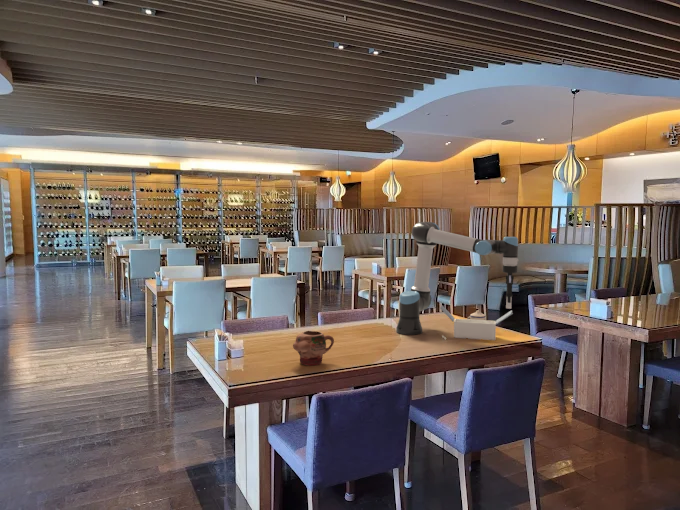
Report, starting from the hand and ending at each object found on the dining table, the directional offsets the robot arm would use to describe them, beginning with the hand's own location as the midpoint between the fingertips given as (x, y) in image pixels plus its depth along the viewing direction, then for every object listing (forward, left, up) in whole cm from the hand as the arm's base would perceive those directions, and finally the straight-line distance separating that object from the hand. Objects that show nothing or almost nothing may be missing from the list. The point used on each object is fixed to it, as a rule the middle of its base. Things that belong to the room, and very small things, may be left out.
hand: (508, 308), depth 261 cm
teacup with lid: (-18, +20, -17) cm, 32 cm away
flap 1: (-32, 0, -4) cm, 33 cm away
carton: (-18, 0, -17) cm, 25 cm away
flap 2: (-2, 0, -5) cm, 5 cm away
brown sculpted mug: (-87, -72, -17) cm, 114 cm away
